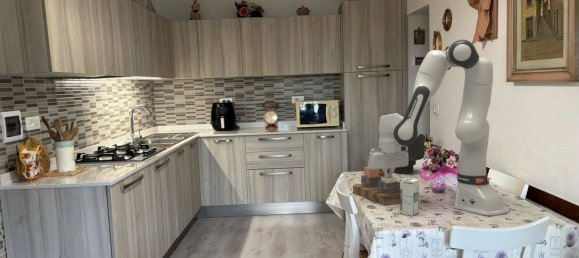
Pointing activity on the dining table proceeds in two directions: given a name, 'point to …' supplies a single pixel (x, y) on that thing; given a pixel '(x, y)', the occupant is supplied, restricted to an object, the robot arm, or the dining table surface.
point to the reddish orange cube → (371, 172)
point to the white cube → (389, 180)
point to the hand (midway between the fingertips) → (388, 177)
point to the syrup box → (409, 196)
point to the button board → (378, 190)
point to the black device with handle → (412, 155)
